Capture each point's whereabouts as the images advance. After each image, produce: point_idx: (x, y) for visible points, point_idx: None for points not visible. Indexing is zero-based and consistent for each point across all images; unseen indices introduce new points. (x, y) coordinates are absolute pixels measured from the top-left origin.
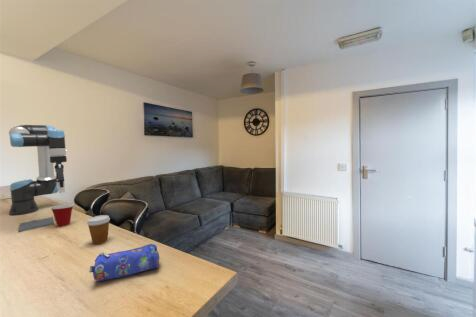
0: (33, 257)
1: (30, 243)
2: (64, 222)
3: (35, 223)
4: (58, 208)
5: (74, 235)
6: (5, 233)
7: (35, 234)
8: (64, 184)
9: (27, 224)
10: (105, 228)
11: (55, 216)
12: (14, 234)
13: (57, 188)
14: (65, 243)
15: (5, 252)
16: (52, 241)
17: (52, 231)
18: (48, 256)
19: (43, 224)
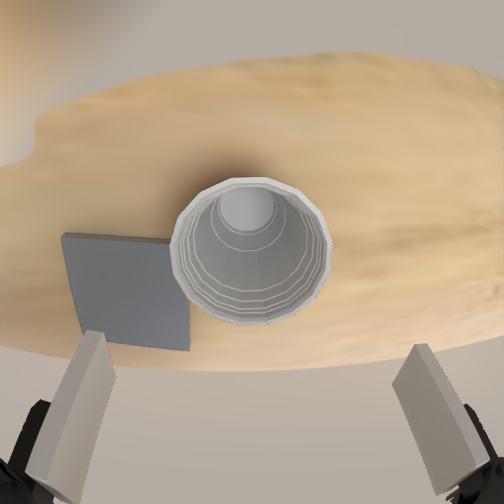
0: (476, 309)
1: (378, 319)
2: (282, 213)
3: (132, 304)
4: (317, 291)
5: (447, 206)
6: (170, 368)
7: None
8: (471, 421)
9: (125, 325)
10: None
11: (268, 271)
12: (211, 353)
13: (110, 390)
14: (478, 244)
15: (382, 359)
16: (430, 270)
17: None
18: (500, 284)
19: None
